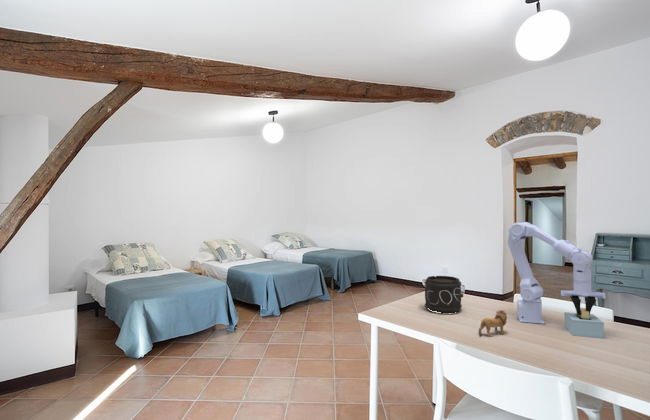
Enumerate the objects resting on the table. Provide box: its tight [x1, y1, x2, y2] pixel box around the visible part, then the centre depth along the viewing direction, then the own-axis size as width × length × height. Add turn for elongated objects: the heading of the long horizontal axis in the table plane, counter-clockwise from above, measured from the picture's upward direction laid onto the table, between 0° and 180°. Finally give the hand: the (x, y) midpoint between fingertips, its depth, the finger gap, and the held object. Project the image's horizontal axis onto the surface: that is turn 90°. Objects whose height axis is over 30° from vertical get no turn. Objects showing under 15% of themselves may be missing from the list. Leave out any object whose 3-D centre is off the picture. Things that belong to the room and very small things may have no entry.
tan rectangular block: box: [577, 307, 589, 320], centre depth 138 cm, size 2×5×4 cm, turn 159°
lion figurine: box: [477, 309, 508, 337], centre depth 137 cm, size 15×5×9 cm, turn 116°
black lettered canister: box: [424, 275, 464, 313], centre depth 172 cm, size 18×18×16 cm
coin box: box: [563, 311, 605, 339], centre depth 138 cm, size 10×11×6 cm
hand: (583, 314), depth 138 cm, fingers closed on tan rectangular block, 2 cm apart
